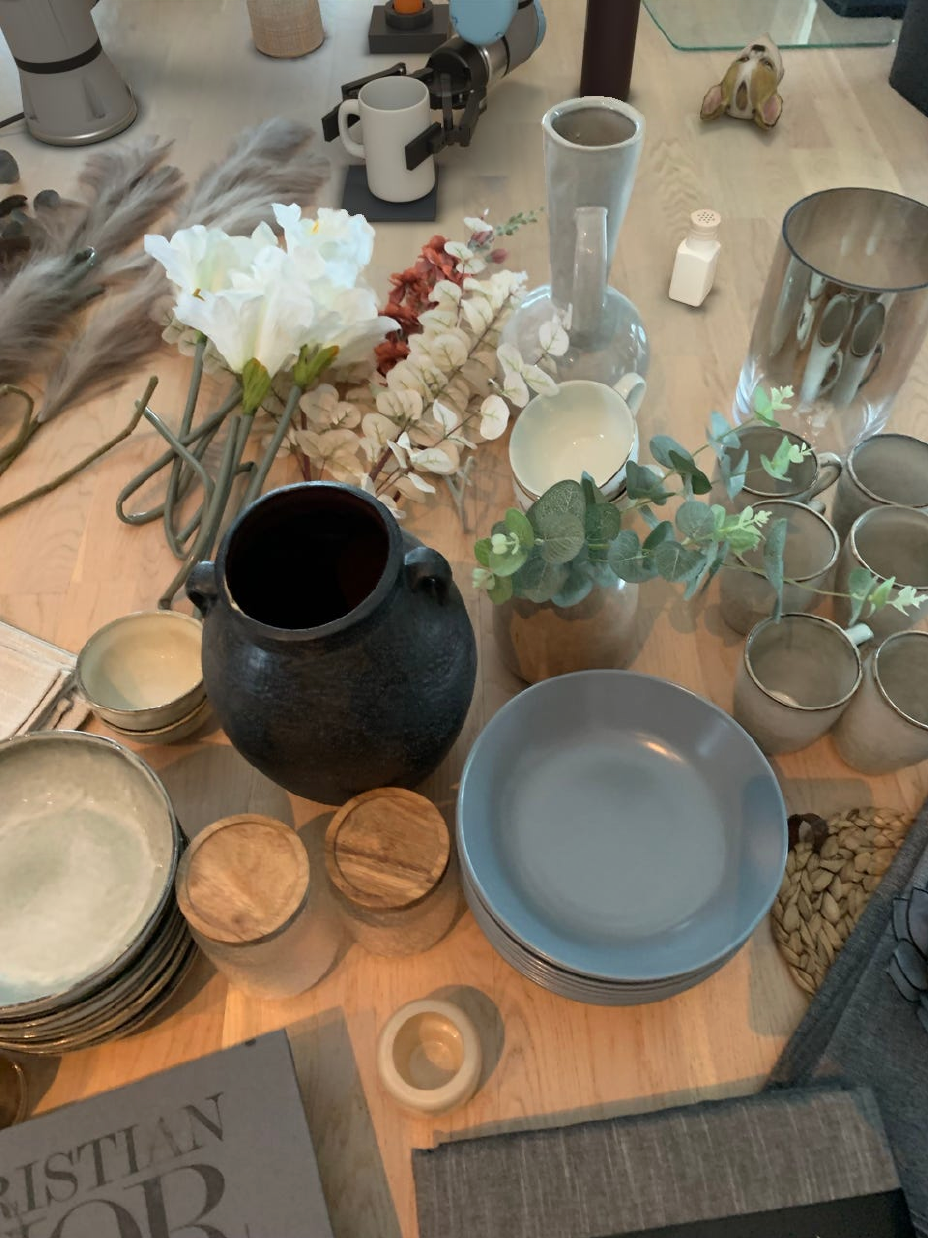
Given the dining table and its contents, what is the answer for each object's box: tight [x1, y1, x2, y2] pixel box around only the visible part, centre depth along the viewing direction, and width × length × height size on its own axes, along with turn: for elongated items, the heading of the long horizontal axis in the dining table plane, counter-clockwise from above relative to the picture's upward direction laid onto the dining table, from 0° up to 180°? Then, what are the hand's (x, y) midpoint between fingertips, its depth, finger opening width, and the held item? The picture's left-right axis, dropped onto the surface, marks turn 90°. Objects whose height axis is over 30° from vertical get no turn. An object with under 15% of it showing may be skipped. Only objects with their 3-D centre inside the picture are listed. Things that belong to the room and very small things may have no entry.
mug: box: [338, 76, 435, 202], centre depth 105 cm, size 12×8×11 cm
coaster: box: [340, 163, 440, 222], centre depth 111 cm, size 12×12×1 cm
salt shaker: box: [668, 208, 722, 307], centre depth 95 cm, size 4×4×10 cm
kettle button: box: [394, 0, 423, 13], centre depth 131 cm, size 4×4×2 cm
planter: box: [245, 0, 325, 59], centre depth 131 cm, size 11×11×10 cm
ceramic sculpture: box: [699, 31, 786, 131], centre depth 117 cm, size 11×9×15 cm
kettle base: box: [367, 0, 451, 55], centre depth 133 cm, size 12×10×4 cm
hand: (365, 144), depth 103 cm, fingers closed on mug, 12 cm apart
